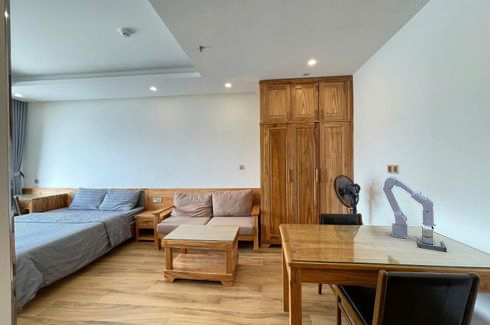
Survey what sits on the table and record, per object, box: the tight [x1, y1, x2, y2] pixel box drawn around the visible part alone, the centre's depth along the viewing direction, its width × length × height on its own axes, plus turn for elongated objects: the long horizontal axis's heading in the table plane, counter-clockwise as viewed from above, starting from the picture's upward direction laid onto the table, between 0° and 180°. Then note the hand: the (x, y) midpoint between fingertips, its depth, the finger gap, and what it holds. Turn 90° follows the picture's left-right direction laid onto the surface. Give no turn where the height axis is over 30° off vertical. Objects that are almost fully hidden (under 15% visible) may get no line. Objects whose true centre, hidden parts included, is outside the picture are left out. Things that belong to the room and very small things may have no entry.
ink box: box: [421, 224, 434, 245], centre depth 140 cm, size 8×5×12 cm, turn 147°
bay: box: [416, 237, 448, 253], centre depth 138 cm, size 13×12×2 cm
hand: (428, 237), depth 147 cm, fingers closed
